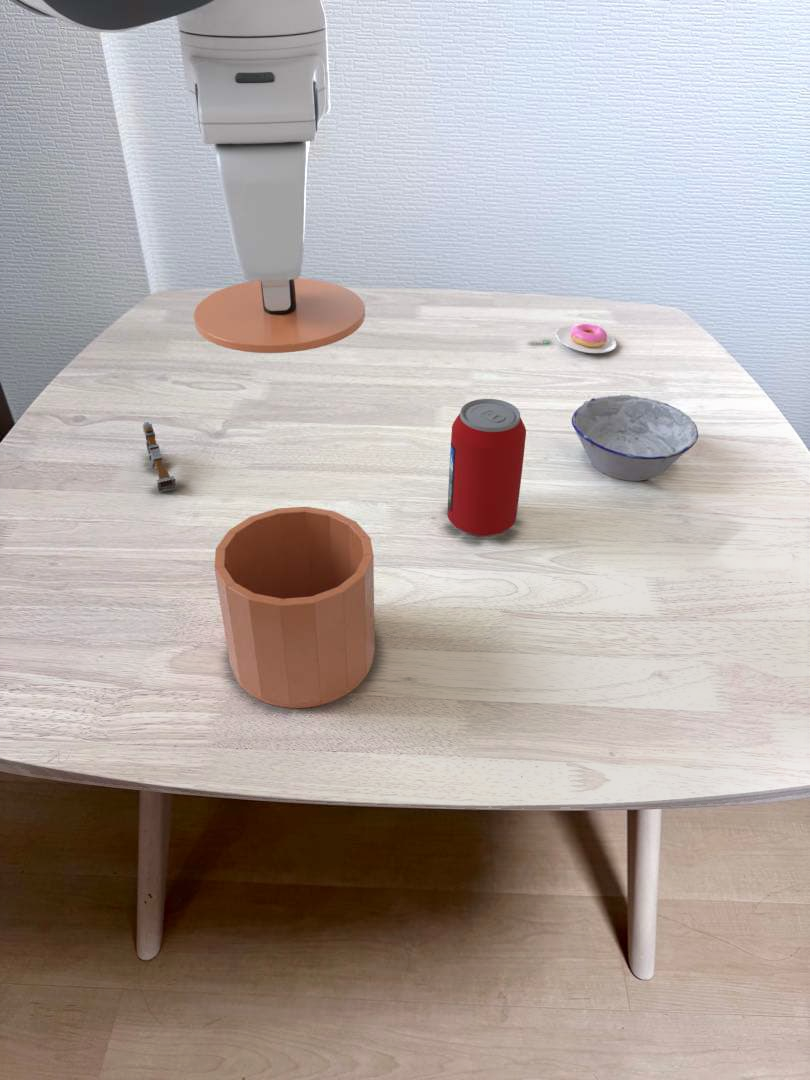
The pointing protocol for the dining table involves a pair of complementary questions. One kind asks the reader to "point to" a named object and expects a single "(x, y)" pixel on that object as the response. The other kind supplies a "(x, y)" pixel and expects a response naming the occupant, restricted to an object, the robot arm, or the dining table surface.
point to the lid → (279, 317)
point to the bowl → (633, 435)
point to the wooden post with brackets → (157, 460)
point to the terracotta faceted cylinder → (297, 605)
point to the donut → (586, 338)
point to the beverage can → (485, 467)
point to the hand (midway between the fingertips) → (278, 296)
